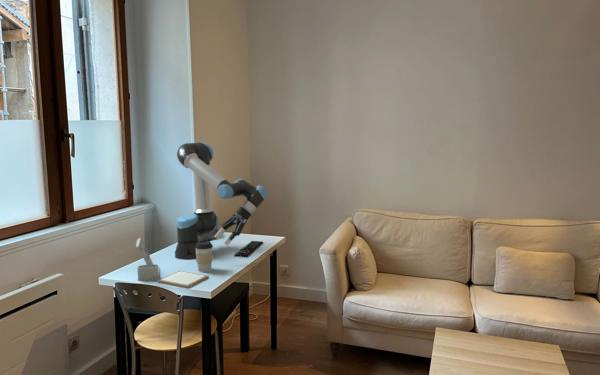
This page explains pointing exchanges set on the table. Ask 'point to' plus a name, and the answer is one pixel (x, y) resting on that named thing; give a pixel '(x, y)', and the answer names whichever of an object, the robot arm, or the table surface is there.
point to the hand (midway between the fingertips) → (220, 241)
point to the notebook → (183, 279)
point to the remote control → (248, 249)
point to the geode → (207, 235)
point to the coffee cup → (204, 256)
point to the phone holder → (146, 270)
